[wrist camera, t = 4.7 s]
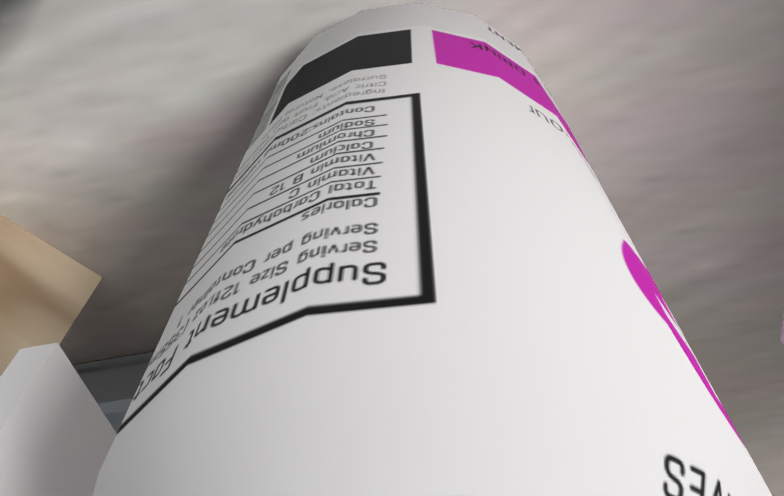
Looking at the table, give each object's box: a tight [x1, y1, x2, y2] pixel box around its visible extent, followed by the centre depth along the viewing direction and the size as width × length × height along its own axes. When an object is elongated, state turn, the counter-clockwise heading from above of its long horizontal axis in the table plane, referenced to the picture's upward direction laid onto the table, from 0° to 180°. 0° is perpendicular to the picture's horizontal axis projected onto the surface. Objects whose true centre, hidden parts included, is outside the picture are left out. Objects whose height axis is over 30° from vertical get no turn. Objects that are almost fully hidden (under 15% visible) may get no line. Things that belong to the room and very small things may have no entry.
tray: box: [73, 351, 155, 433], centre depth 26 cm, size 12×12×2 cm
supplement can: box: [93, 3, 772, 496], centre depth 13 cm, size 8×8×15 cm
